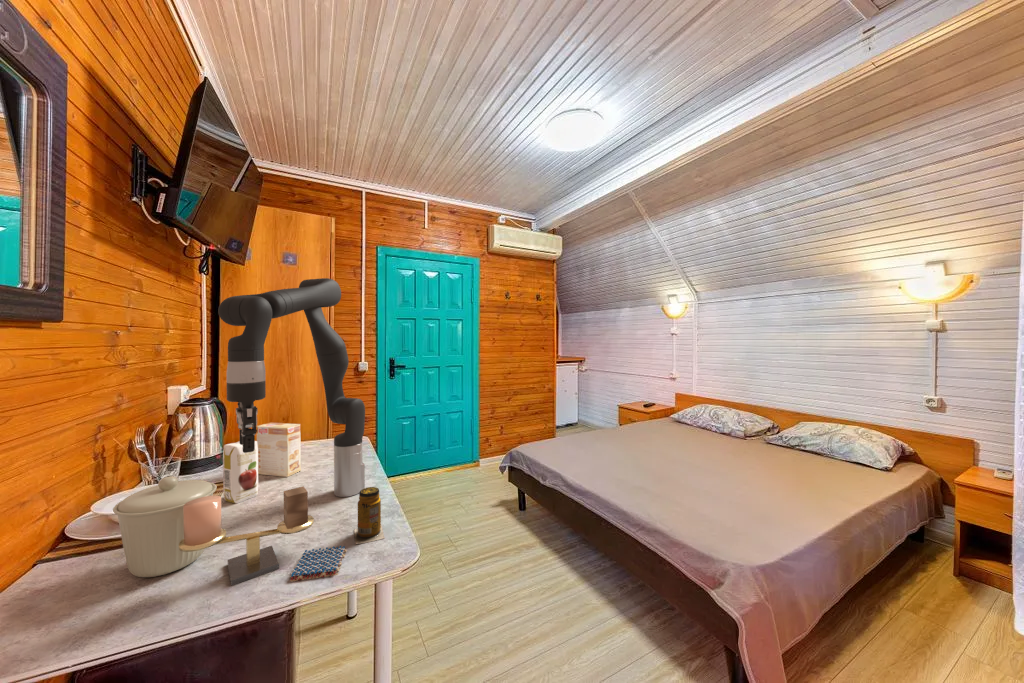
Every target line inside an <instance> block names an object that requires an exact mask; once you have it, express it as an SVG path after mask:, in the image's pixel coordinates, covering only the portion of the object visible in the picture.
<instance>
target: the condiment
mask: <svg viewBox="0 0 1024 683" xmlns="http://www.w3.org/2000/svg"><path fill="white" fill-rule="evenodd" d="M358 496H359V497H358V501H357V528H355V529H353V530H354V531H353V532H354V542H355V545H358V544H359V545H360V544H364V543H365V544H366V543H367V544H368V543H370V542H375V541H380V540H382V539H385V538H386V537H385V534H384V530H383V526H382V522H381V521H382V519H381V518H382V515H381V514H382V513H381V512H382V511H381V507H382V504H381V503H382V501H381V498H380V489H379V488H378V487H377V486H369V487H365V488H364V489H362V490H361V491H360V492H359V493H358ZM377 535H378V536H377Z"/></svg>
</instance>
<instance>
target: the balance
mask: <svg viewBox="0 0 1024 683" xmlns="http://www.w3.org/2000/svg"><path fill="white" fill-rule="evenodd" d="M314 520H315V519H314V517H313V516H312V515H309V514H308V523H306V524H303V525H300V526H296V527H293V528H290V529H287V527H286V525H285V523H284V520H282V521H280V522H279V523H278V524H277V526H276V528H273V529H268V530H261V531H255V532H249V533H242V534H237V535H236V534H235V535H232V536H227V531H226V529H225V528H222V534H221V535H220V536H219V537H218V538H216V539H214V540H212V541H210V542H207V543H204V544H201V545H195V546H187V545H185V544H184V539H183V540H181V541H180V543H179V550H180V551H183V552H192V551H198V550H202V549H204V550H205V549H208V548H210V547H213V546H216V545H220V544H222V545H223V544H228V543H233V542H239V541H244V540H245V551H246V552H245V554H240V555H238V556H235V557H231V558H229V559H227V569H228V576H229V581H230V586H232V587H233V586H235V585H237V584H241V583H242V582H243V583H244V582H245V581H249V580H251V579H255V578H257V577H259V576H262V575H265V574H268V573H270V572H273V571H277V570H279V569H280V562H279V560H278V558H277V555H276V552H275V550H274V548H273V545H270V546H266V547H264V548H261V546H260V544H261V542H260V539H261V537H262V538H263V537H268V536H273V535H278V534H279V535H280V534H281V535H291V534H292V535H293V534H297V533H301V532H303V531H305V530H307V529H309V528H311V527H312V526H313V524H314V522H315V521H314Z"/></svg>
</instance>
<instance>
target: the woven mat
mask: <svg viewBox="0 0 1024 683" xmlns="http://www.w3.org/2000/svg"><path fill="white" fill-rule="evenodd" d="M321 549H322V550H321ZM347 552H348V550H347V549H346V546H345V545H344V546H342V545H339V546H337V547H336V548H335V546H332V547H330V548H329V547H328V546H327V547H325V548H321V547H319V549H315V548H312V550H308V549H305V550H304V552H303V553H301V556H300V557H298V558H299V560H298V561H296V564H295V565H294V567H293V569H292V571H291V573H290V576H289V577H290V580H289V582H297V581H304V580H310V579H311V580H312V579H318V578H326V577H332V576H333V577H334V576H338V575H339V573H338V572H339V571H340V569H341V566H342V565H343V564H342V561H343V558H346V557H345V556H346V553H347Z"/></svg>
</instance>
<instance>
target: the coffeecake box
mask: <svg viewBox="0 0 1024 683" xmlns="http://www.w3.org/2000/svg"><path fill="white" fill-rule="evenodd" d="M256 430H257V432H256V441H257V445H258V475H263V476H273V477H284V478H289V477H291V476H293V475H295V473H296V474H298V473H299V471H300V472H302V466H301V465H302V463H301V462H302V460H301V457H302V456H301V455H302V454H301V452H302V451H301V450H302V449H301V447H302V446H301V444H302V443H301V423H283V422H267V423H263V424H259V425H257V426H256ZM297 472H298V473H297Z"/></svg>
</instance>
